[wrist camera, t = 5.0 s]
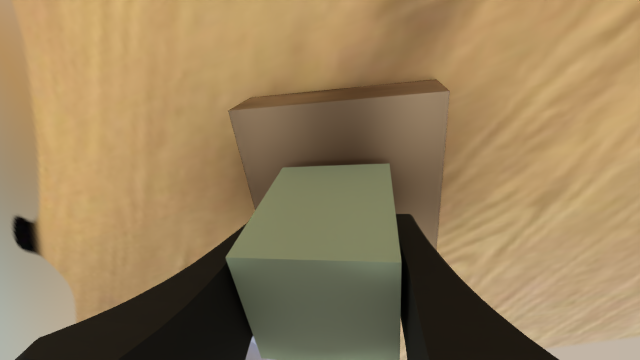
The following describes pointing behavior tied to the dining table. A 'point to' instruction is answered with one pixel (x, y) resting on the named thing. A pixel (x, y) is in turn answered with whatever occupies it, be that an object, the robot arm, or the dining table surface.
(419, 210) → the walnut base
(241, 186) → the dining table surface
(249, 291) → the green block
